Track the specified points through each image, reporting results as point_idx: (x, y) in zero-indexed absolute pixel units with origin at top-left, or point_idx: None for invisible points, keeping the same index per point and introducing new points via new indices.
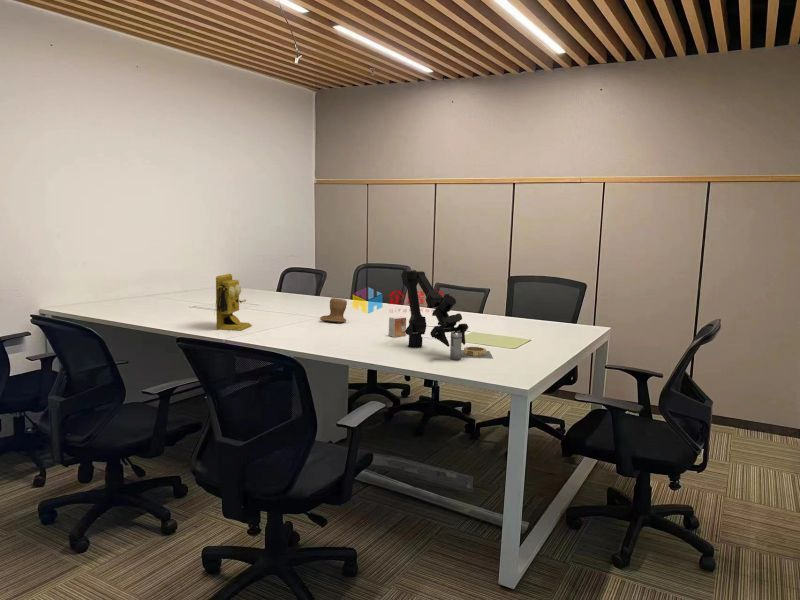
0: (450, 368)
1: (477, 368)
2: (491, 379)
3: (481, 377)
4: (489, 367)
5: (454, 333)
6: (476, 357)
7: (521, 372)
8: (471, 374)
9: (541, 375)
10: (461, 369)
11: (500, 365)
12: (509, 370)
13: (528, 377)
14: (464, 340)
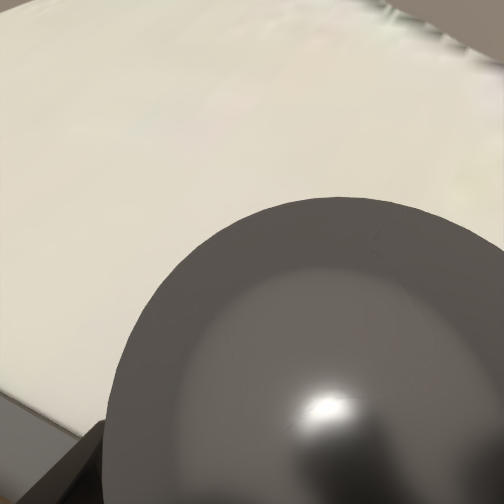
0: (429, 190)
1: (234, 154)
2: (277, 3)
3: (308, 28)
4: (141, 158)
5: (489, 314)
6: (21, 440)
7: (53, 56)
8: (337, 68)
9: (14, 14)
10: (355, 155)
11: (32, 183)
12: (79, 90)
13: (95, 3)
14: (69, 467)
